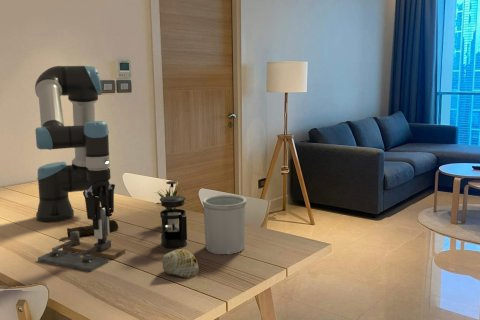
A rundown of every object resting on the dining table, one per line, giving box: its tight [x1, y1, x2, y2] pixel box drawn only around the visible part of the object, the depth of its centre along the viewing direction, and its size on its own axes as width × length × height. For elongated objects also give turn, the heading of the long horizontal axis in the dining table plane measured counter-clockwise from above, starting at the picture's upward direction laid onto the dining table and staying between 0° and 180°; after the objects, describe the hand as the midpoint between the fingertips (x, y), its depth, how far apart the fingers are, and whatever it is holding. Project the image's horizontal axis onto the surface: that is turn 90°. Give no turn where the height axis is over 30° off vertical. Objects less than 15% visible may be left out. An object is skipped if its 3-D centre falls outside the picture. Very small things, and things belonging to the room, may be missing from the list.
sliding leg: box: [79, 206, 112, 259], centre depth 160 cm, size 13×3×14 cm, turn 156°
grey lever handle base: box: [51, 231, 126, 260], centre depth 163 cm, size 14×22×6 cm, turn 66°
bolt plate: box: [37, 249, 109, 272], centre depth 158 cm, size 8×22×1 cm, turn 66°
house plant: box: [154, 185, 187, 224], centre depth 194 cm, size 14×14×16 cm
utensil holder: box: [202, 193, 247, 255], centre depth 168 cm, size 15×15×18 cm
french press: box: [159, 180, 188, 250], centre depth 171 cm, size 12×9×23 cm
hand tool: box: [66, 219, 119, 239], centre depth 185 cm, size 19×4×5 cm, turn 117°
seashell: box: [161, 248, 200, 279], centre depth 148 cm, size 10×10×10 cm
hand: (102, 236), depth 164 cm, fingers closed on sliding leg, 3 cm apart
